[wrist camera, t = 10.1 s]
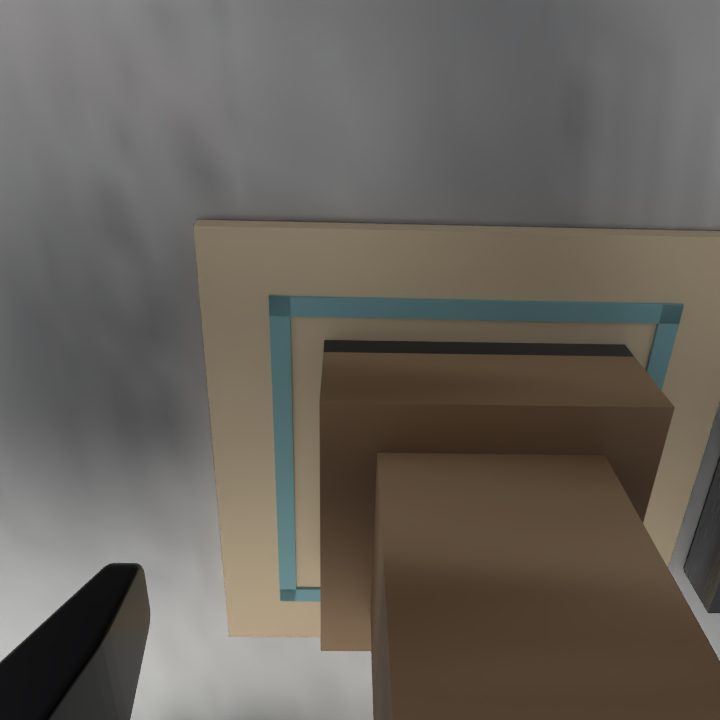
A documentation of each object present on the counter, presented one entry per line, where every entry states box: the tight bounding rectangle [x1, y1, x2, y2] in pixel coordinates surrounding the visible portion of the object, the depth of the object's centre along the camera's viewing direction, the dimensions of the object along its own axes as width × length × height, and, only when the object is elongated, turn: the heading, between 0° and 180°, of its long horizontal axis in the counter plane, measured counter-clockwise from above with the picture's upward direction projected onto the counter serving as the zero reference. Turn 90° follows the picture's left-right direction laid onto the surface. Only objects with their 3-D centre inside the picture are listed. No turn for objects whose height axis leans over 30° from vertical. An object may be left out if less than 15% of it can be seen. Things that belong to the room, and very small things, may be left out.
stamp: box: [319, 340, 720, 720], centre depth 9 cm, size 4×4×6 cm
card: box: [193, 220, 720, 637], centre depth 11 cm, size 8×8×1 cm
